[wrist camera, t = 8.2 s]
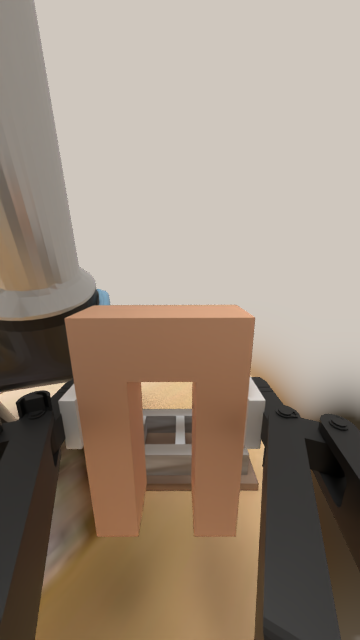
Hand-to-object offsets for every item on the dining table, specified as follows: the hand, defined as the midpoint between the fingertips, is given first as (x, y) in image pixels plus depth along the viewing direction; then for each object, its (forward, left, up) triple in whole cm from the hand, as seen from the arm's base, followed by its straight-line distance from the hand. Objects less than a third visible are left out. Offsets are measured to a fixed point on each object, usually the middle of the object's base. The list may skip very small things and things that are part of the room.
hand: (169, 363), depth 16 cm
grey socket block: (-4, +8, -18) cm, 20 cm away
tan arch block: (+2, -4, -8) cm, 9 cm away
